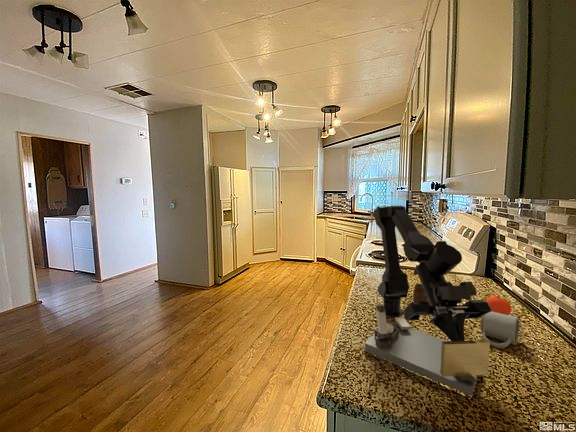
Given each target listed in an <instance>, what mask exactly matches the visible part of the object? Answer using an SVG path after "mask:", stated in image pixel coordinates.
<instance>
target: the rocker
mask: <svg viewBox="0 0 576 432" xmlns="http://www.w3.org/2000/svg"><path fill="white" fill-rule="evenodd" d="M394 321H395V323H397V324H398V325H399V327H400V328H401V329H402V330H409V329H410V328H411V325H410V323H409V322H408V321H407V320H406V318H405V316H399V317H394ZM411 329H412V328H411Z"/></svg>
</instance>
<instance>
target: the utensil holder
mask: <svg viewBox="0 0 576 432" xmlns="http://www.w3.org/2000/svg"><path fill="white" fill-rule="evenodd" d="M423 290H424V288H423V286H422V283H415V284H414V289H413V291H412V292H413V294H412V300H413V301H412V302H427V303H428V304H429V306H430V303H429V301H428V298H427V296H426V295H423V293H422V291H423Z"/></svg>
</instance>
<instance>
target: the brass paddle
mask: <svg viewBox="0 0 576 432" xmlns="http://www.w3.org/2000/svg"><path fill="white" fill-rule="evenodd" d="M447 341H448V342H442V350H441V368H440V374H441V375H442V376H443V377H448V376H457V378H458V379H459V380H460V381H461V382H475V380H476V379H475V378H474V377H473V376H474V375H478V376H488V374H489V373H488V372H489V361H490V357H489V356H490V346H491V345H490V343H489V342H488V341H486V340H484V339H482V340H481V339H480V340H465V341H451V340H447Z"/></svg>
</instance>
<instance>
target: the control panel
mask: <svg viewBox="0 0 576 432" xmlns="http://www.w3.org/2000/svg"><path fill="white" fill-rule="evenodd" d="M386 323H388V324H391V325H393V327H394V333H393V334H392V335H389V336H390V339H389V340H379V339H378V336H377V333H379V332H378V326H377V327H376V328H375V329H374V333H373V334H372V335H371V337H369V338H368V340H367V341H366V342H365V343H364V352H365V351H367V352H369V353H371V354H374V355H376V356H378V357H381V358H383V359H385V360H387V361H390V362H392V363H394V364H397V365H399V366H401V367H404V368H406V369H408V370H410V371H413V372H415V373H418V374H420V375H423V376H426V377H427V378H430V379H432V380H435V381H437V382H439V383H442V384H444V385H447V386H449V387H452V388H454V389H456V390H459V391H461V392H463V393H466V394H468V395H471V396H473V397H474V394H473V392H474V393H475V390H474V388H475V389H476V386H475V384H477V381H476V380H475V382H461V381H460V380H459V379H458V378H457V376H448V377H443V376H442V375H441V374H440V368H441V350H442V342H448V341H449V340H445V339H443V338H440V337H436V336H433V335H431V334H428V333H425V332H422V331H419V330H416V329H413V328H410V329H409V330H402V329H401V328H400V327H399V325H398V324H397V322H394V321H390V320H386ZM367 352H366V353H367ZM369 353H368V354H369ZM371 354H370V355H371ZM374 355H373V356H374ZM376 356H375V357H376ZM378 357H377V358H378ZM387 361H386V362H387ZM473 377H474V378H475V379H477V380H478V377H477V375H474V376H473Z"/></svg>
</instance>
